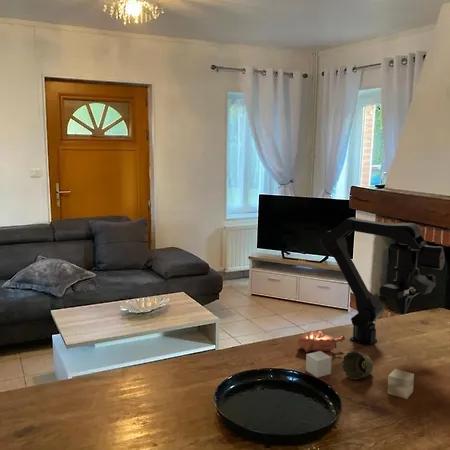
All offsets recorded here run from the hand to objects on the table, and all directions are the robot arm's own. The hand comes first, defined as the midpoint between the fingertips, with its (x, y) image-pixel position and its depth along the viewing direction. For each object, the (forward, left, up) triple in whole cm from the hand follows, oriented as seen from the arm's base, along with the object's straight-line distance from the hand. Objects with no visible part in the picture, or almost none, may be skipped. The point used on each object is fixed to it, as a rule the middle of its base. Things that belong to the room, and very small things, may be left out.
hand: (403, 313), depth 154 cm
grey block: (-6, -32, -12) cm, 35 cm away
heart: (-16, -20, -12) cm, 28 cm away
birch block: (+15, -24, -12) cm, 31 cm away
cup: (+2, -20, -10) cm, 23 cm away
